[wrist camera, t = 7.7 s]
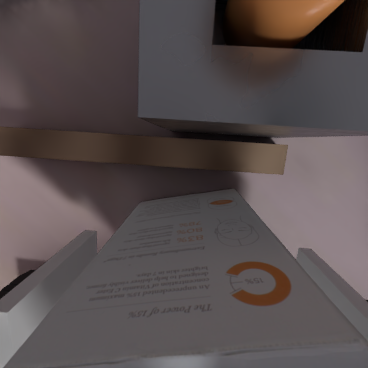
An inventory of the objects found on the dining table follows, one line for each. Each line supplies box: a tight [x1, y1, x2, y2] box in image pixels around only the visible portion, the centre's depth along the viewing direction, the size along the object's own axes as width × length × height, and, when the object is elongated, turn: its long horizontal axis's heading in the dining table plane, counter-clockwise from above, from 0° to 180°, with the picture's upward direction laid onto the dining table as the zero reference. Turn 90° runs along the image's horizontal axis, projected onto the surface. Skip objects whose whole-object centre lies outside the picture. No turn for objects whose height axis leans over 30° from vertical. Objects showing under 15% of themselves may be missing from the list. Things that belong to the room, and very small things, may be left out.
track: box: [0, 127, 288, 175], centre depth 17 cm, size 20×15×2 cm
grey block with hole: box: [138, 0, 368, 138], centre depth 10 cm, size 8×8×10 cm
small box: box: [3, 189, 368, 368], centre depth 11 cm, size 8×6×13 cm
